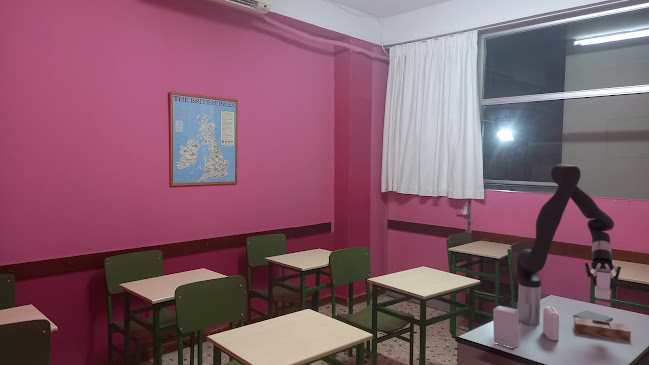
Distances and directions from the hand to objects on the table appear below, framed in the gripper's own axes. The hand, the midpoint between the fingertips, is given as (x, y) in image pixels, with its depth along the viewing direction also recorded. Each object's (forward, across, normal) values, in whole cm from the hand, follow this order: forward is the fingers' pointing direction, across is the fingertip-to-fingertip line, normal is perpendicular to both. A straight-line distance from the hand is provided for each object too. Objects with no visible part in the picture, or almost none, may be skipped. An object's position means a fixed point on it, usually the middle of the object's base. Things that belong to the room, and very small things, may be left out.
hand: (603, 286), depth 193 cm
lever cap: (+2, 0, +5) cm, 6 cm away
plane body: (+14, 0, +16) cm, 21 cm away
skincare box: (+37, -36, -6) cm, 52 cm away
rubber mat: (0, -1, +30) cm, 30 cm away
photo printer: (+24, -19, +7) cm, 31 cm away
